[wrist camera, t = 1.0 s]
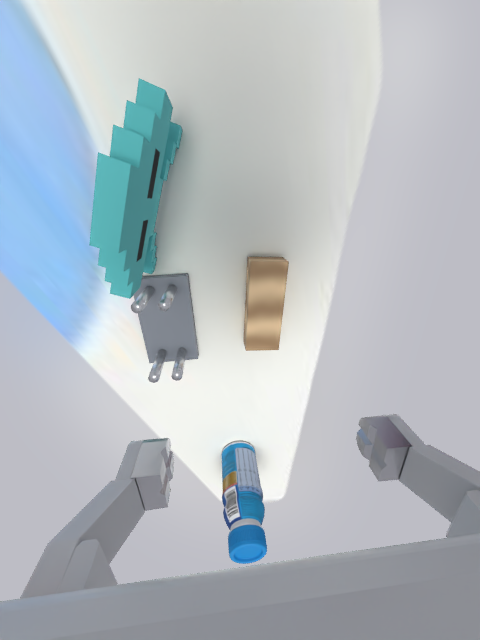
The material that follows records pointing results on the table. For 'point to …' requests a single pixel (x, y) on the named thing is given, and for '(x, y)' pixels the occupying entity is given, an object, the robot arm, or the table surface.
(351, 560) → the robot arm
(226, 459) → the beverage bottle
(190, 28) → the table surface
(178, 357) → the peg rack
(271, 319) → the brown wooden block
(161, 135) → the alien figure
